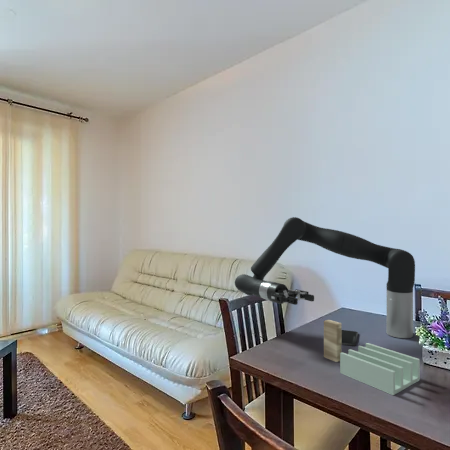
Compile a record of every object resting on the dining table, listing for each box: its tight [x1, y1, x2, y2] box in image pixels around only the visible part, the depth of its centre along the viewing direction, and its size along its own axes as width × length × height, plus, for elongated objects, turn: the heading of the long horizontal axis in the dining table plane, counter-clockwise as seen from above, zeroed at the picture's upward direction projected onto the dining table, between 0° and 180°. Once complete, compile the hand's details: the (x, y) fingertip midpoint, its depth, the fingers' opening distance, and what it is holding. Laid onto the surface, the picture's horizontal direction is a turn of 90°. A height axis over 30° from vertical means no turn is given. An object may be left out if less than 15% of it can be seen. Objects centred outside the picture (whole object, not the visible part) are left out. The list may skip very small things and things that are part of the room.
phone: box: [342, 329, 359, 347], centre depth 132 cm, size 8×1×15 cm
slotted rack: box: [339, 342, 421, 396], centre depth 100 cm, size 14×16×6 cm
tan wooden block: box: [323, 319, 343, 363], centre depth 113 cm, size 2×5×12 cm, turn 36°
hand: (305, 300), depth 122 cm, fingers open, 8 cm apart
